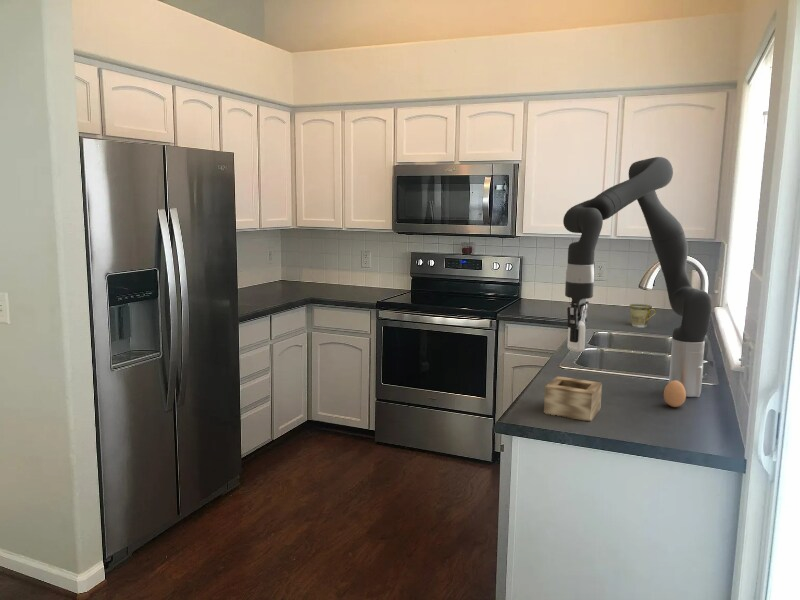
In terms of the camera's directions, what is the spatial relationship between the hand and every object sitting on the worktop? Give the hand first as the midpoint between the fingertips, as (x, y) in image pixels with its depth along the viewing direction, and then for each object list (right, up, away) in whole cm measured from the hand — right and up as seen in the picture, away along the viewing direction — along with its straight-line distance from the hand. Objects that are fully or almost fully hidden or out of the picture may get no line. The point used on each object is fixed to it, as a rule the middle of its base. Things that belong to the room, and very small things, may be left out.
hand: (576, 339), depth 182 cm
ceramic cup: (+65, -2, +126) cm, 142 cm away
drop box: (0, -21, +3) cm, 21 cm away
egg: (+31, -20, +8) cm, 38 cm away
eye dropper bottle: (0, -3, 0) cm, 3 cm away
